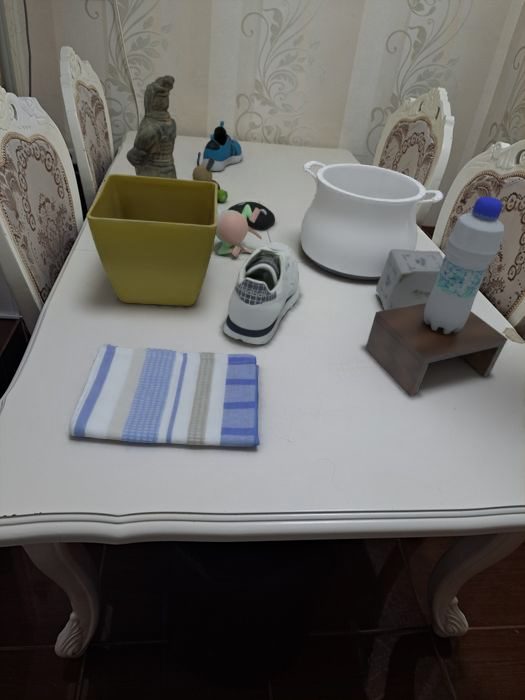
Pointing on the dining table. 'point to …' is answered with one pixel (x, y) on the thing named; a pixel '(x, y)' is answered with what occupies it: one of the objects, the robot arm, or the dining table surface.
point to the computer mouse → (264, 217)
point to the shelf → (429, 344)
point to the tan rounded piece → (208, 177)
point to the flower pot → (155, 236)
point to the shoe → (221, 149)
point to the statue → (155, 133)
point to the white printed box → (408, 277)
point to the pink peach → (235, 229)
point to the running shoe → (263, 293)
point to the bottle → (465, 265)
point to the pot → (360, 218)
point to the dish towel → (169, 398)
